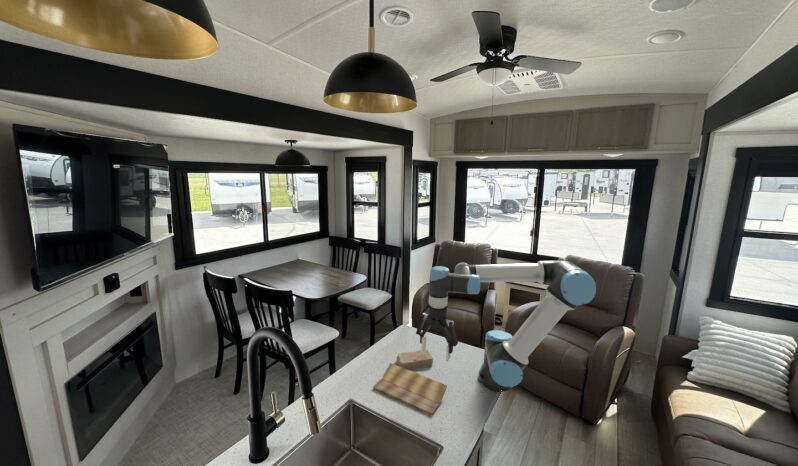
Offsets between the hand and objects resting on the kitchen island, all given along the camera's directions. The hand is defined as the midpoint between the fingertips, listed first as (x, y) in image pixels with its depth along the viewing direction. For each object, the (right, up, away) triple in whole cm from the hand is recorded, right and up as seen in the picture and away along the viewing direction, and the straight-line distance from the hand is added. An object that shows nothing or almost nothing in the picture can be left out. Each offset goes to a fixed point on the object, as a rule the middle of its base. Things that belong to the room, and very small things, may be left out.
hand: (435, 355), depth 128 cm
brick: (-8, -14, +24) cm, 29 cm away
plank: (-9, -15, +6) cm, 18 cm away
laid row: (-13, -18, 0) cm, 22 cm away
